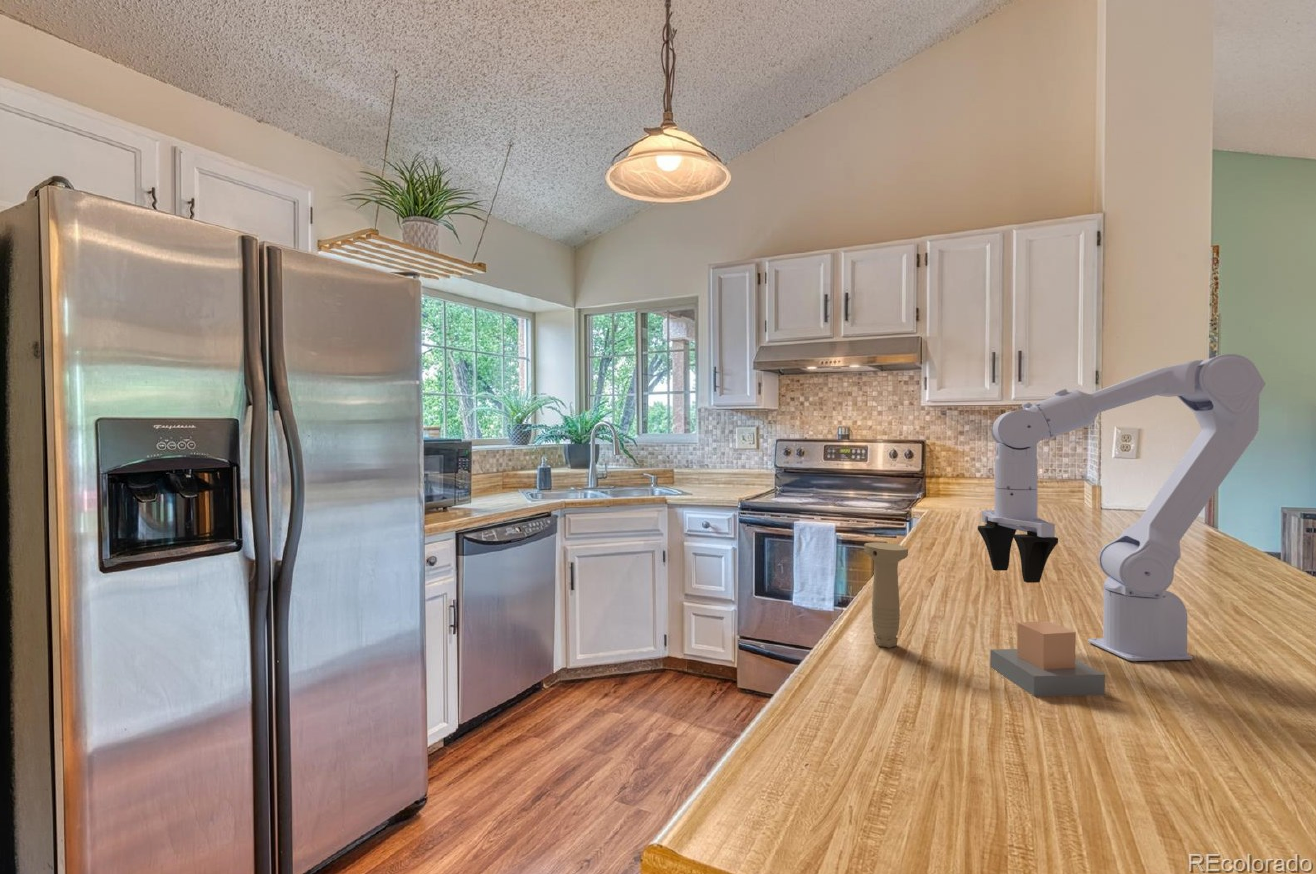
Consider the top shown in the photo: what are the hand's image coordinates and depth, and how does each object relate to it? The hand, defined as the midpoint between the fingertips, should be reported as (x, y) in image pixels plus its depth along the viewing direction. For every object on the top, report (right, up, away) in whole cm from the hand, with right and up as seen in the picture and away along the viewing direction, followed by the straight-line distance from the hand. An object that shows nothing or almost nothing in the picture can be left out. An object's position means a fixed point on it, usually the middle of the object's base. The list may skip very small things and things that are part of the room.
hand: (1015, 575), depth 94 cm
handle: (-21, -10, -2) cm, 23 cm away
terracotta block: (-5, -8, -15) cm, 18 cm away
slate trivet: (-5, -11, -15) cm, 19 cm away
